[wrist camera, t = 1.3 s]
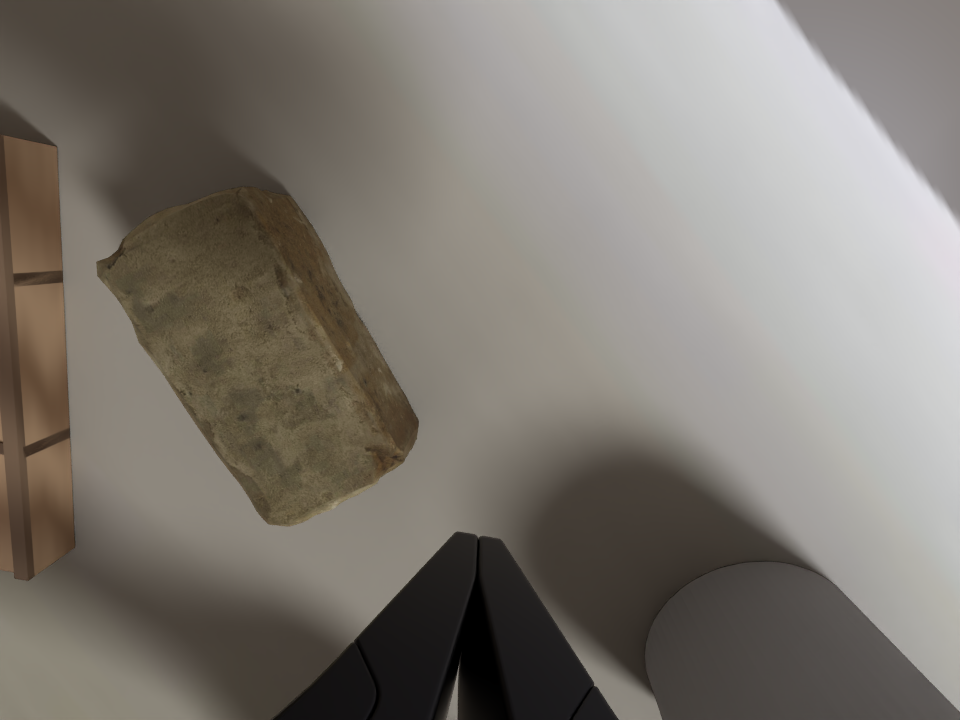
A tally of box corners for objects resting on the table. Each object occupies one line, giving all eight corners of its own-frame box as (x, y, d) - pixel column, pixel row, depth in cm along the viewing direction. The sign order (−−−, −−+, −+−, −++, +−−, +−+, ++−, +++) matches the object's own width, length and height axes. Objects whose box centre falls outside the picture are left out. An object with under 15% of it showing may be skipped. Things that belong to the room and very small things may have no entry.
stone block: (321, 479, 21) (268, 548, 16) (173, 248, 19) (60, 248, 14) (433, 425, 20) (411, 481, 16) (290, 176, 18) (213, 152, 13)
